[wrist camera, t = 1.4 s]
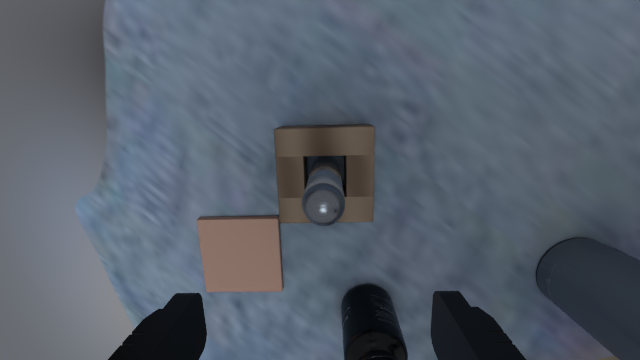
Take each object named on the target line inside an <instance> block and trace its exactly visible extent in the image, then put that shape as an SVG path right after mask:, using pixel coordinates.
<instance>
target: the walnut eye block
mask: <svg viewBox="0 0 640 360" xmlns="http://www.w3.org/2000/svg"><path fill="white" fill-rule="evenodd" d="M274 137H275V153H276V169H277V185H278V200H279V216H280V223H312V222H310V221H309V220H308V219H307V218H306V217H305V215H304V213H303V210H302V198H303V195H304V192H305V188H306V185H307V182H308V169H307V156H341V155H344V185H342V186H343V192H344V198H345V210H344V213H343V215H342V216H341V218H340V219H339V220H338V221H337V222H373V208H374V137H375V127H374V126H372V125H369V124H354V125H317V126H282V127H279V128H276V129H274Z"/></svg>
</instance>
